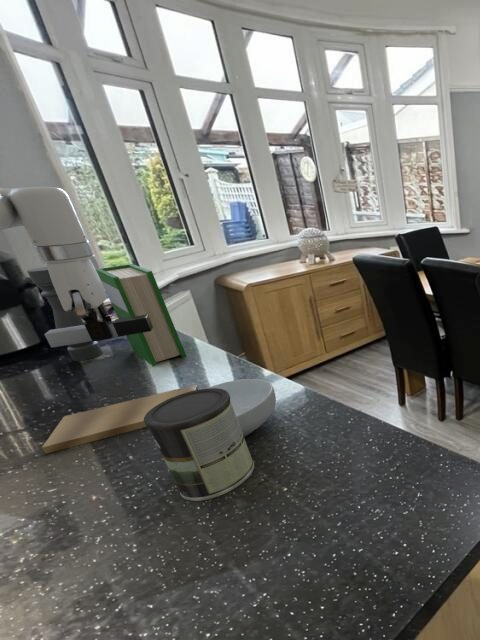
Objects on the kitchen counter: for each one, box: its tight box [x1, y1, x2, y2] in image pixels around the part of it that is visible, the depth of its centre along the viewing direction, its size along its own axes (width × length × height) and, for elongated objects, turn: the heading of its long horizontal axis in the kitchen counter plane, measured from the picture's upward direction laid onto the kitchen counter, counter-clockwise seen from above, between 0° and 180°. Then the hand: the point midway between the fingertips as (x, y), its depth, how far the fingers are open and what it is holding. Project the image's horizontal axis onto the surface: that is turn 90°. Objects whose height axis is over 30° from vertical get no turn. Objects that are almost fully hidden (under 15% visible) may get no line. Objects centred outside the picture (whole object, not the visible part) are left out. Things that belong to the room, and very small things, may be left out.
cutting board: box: [41, 384, 199, 455], centre depth 81 cm, size 22×12×2 cm, turn 123°
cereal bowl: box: [205, 378, 277, 438], centre depth 75 cm, size 17×17×7 cm
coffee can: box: [144, 387, 255, 502], centre depth 62 cm, size 10×10×14 cm
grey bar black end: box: [44, 314, 153, 348], centre depth 86 cm, size 16×3×3 cm, turn 123°
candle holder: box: [26, 266, 104, 362], centre depth 106 cm, size 6×6×25 cm
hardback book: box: [95, 263, 187, 367], centre depth 106 cm, size 18×7×24 cm, turn 54°
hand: (104, 335), depth 86 cm, fingers closed on grey bar black end, 3 cm apart
